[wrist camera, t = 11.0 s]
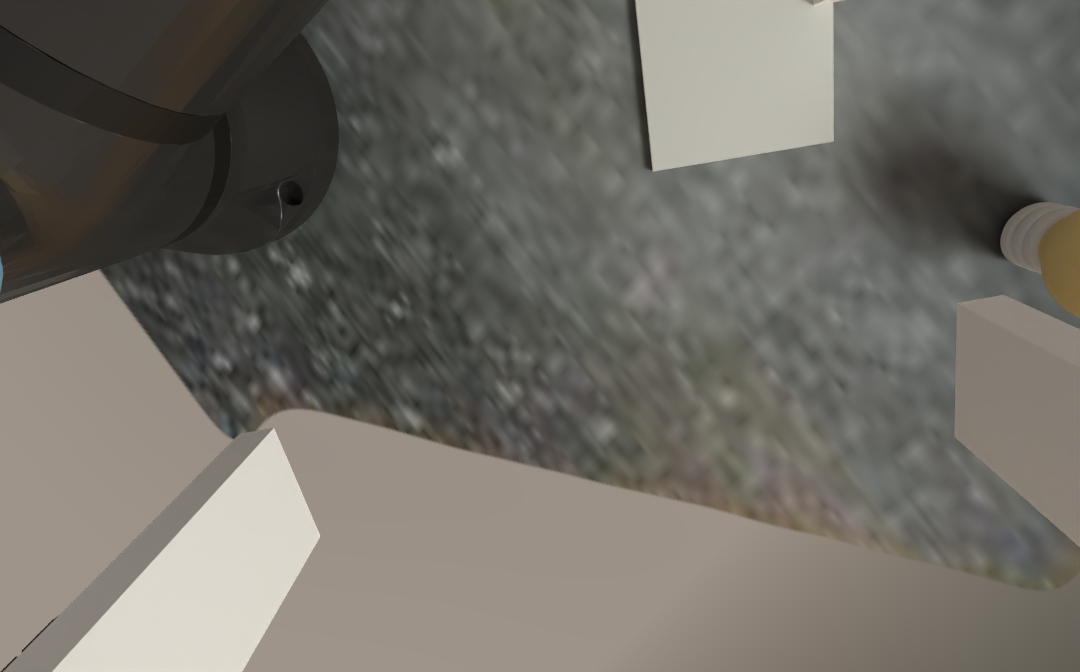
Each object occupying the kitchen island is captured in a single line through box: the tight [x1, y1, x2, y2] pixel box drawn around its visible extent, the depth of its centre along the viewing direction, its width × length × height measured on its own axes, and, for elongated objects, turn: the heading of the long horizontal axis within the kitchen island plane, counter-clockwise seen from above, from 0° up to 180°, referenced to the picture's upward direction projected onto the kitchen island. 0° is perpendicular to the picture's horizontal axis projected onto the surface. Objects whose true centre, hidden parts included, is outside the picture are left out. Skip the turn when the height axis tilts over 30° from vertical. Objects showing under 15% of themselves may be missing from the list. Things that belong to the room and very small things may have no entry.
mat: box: [635, 0, 834, 171], centre depth 33 cm, size 10×10×1 cm
